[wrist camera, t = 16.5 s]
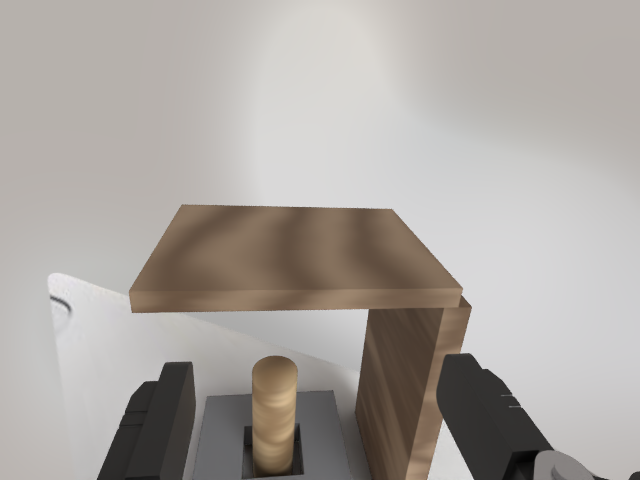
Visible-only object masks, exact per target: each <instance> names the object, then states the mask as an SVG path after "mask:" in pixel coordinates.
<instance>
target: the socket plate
mask: <svg viewBox="0 0 640 480" xmlns="http://www.w3.org/2000/svg"><path fill="white" fill-rule="evenodd" d="M294 441H298V442H299V453H300V464H301V475H292V476H279V477H266V478H253V479H243V465H244V447H245V444H253V414H252V394H246V395H225V396H207V400H206V406H205V411H204V417H203V423H202V428H201V434H200V439H199V445H198V451H197V456H196V462H195V468H194V473H193V479H192V480H352V478H351V473H350V468H349V463H348V459H347V454H346V449H345V444H344V439H343V435H342V430H341V425H340V420H339V416H338V411H337V406H336V401H335V397H334V392H333V390H331V391H310V392H296V410H295V428H294Z"/></svg>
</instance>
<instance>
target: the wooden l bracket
mask: <svg viewBox="0 0 640 480" xmlns="http://www.w3.org/2000/svg"><path fill="white" fill-rule="evenodd" d="M462 290H463V288H462V287H461V286H460V285H459V283H458V282H457V281H456V280H455V279H454V278H453V277H452V276H451V274H450V273H449V272H448V271H447V270H446V269H445V268H444V267H443V266H442V264H441V263H440V262H439V261H438V260H437V259H436V258H435V257H434V255H432V253H431V252H430V251H429V250H428V249H427V248H426V247H425V245H424V244H423V243H422V242H421V241H420V240H419V239H418V238H417V236H416V235H415V234H414V233H413V232H412V231H411V230H410V229H409V228H408V226H407V225H406V224H405V223H404V222H403V221H402V220H401V219H400V217H399V216H398V215H397V214H396V213H395V212H394V211H393V210H392V209H365V208H319V207H318V208H317V207H271V206H270V207H269V206H267V207H266V206H224V205H223V206H222V205H181V207H180V208H179V210H178V212H177V213H176V215H175V217H174V218H173V220H172V221H171V223H170V225H169V226H168V228H167V230H166V231H165V233H164V235H163V236H162V238H161V240H160V241H159V243H158V245H157V246H156V248H155V249H154V251H153V253H152V254H151V256H150V258H149V259H148V261H147V262H146V264H145V266H144V267H143V269H142V271H141V272H140V274H139V276H138V277H137V279H136V280H135V282H134V284H133V285H132V287H131V289H130V290H129V297H130V304H131V310H132V313H158V312H216V311H272V310H273V311H276V310H330V309H331V310H335V309H369V313H368V320H367V327H366V335H365V342H364V350H363V357H362V364H361V371H360V378H359V386H358V393H357V400H356V408H355V415H356V419H357V422H358V426H359V430H360V434H361V438H362V442H363V446H364V449H365V453H366V457H367V461H368V465H369V469H370V473H371V476H372V480H427V478H428V474H429V470H430V466H431V462H432V458H433V455H434V451H435V447H436V443H437V439H438V435H439V432H440V428H441V424H442V420H443V416H442V414H441V412H440V410H439V408H438V404H437V399H436V389H437V385H438V380H439V376H440V372H441V368H442V364H443V360H444V357H445V355H447V354H460V351H461V347H462V343H463V340H464V336H465V332H466V328H467V324H468V320H469V317H470V313H471V309H472V307H471V305H470V304H469V303H468V302H467V301H466V300H465V299H464V297H463V296H462V295H461V294H462Z"/></svg>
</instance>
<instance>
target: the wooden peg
mask: <svg viewBox="0 0 640 480" xmlns="http://www.w3.org/2000/svg"><path fill="white" fill-rule="evenodd" d="M297 372H298V371H297V366H296V365H295V363H294V362H293V361H291V360H290V359H288V358H286V357H282V356H269V357H265V358H263V359H261V360H259V361H258V362H257V363H256V364H255V365H254V367H253V370H252V414H253V475H254V478H266V477H279V476H291V473H292V466H293V447H294V428H295V410H296V391H297Z"/></svg>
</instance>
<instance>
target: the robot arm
mask: <svg viewBox="0 0 640 480" xmlns="http://www.w3.org/2000/svg"><path fill="white" fill-rule="evenodd" d="M436 399H437V404H438V408H439V410H440V412H441V414H442V416H443V418H444V420H445V422H446V424H447V426H448V428H449V430H450V432H451V434H452V436H453V438H454V440H455V442H456V444H457V446H458V448H459V450H460V452H461V454H462V456H463V458H464V460H465V462H466V464H467V466H468V468H469V470H470V472H471V474H472V476H473V478H474V480H608V479H604V478H600V477H595V476H592V475H591V474H590V472H589V471H588V470H587V469H586V468H585V467H584V466H583V465H582V464H581V463H579V462H578V461H576V460H575V459H573V458H572V457H570V456H568V455H566V454H564V453H561V452H557V451H555V450H554V449H553V448H552V447H551V445H550V444H549V443H548V441H547V440H546V438H545V437H544V436H543V434H542V433H541V432H540V430H539V429H538V428H537V427H536V426H535V424H534V422H533V421H532V420H531V418H530V417H529V416H528V414H527V413H526V412H525V410H524V409H523V408H521V405H520V404H519V402H518V401H517V400H516V398H515V397H513V396H512V393H511V392H510V390H509V389H508V388H507V386H506V385H505V383H504V382H503V381H502V380H501V379H500V378H498V377H497V376H496V375H494V374H493V373H492V372H491V371H489V370H488V369H482V368H481V367H480V365H479V364H478V362H477V361H476V359H475V358H474V357H473V356H472V355H471V354H469V353H465V354H447V355H445V357H444V360H443V364H442V368H441V372H440V376H439V380H438V385H437V389H436ZM195 408H196V399H195V387H194V375H193V365H192V362H166V363H165V364H164V366H163V369H162V372H161V375H160V378H159V380H158V381H146V382H144V383H143V384H142V385H141V386H140V387H139V388H138V389H137V390H136V391H135V393H134V394H133V395H132V396H131V398H130V401H129V403H128V405H127V408H126V410H125V415H123V417H122V420H121V422H120V425H119V429H118V430H117V432H116V434H115V437H114V439H113V442H112V444H111V446H110V449H109V451H108V454H107V456H106V459H105V461H104V463H103V466H102V468H101V471H100V473H99V475H98V478H97V480H182V477H183V472H184V468H185V463H186V458H187V453H188V448H189V443H190V439H191V434H192V429H193V424H194V419H195ZM629 480H640V472H635V473H633V474H632V475H631V476H630V478H629Z"/></svg>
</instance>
